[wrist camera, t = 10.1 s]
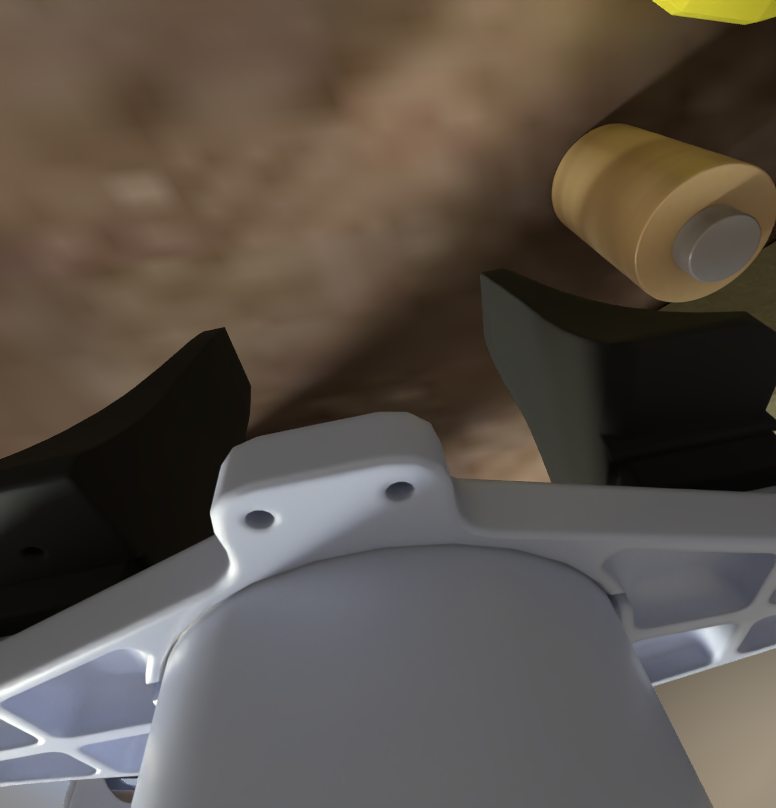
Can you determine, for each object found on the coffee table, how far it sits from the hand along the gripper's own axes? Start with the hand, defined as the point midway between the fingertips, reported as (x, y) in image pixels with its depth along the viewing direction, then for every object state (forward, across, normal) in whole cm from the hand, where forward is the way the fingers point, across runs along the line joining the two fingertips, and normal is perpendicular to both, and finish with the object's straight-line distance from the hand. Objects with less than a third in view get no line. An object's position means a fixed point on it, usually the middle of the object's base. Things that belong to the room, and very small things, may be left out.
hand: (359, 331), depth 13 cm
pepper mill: (+10, -12, +1) cm, 16 cm away
